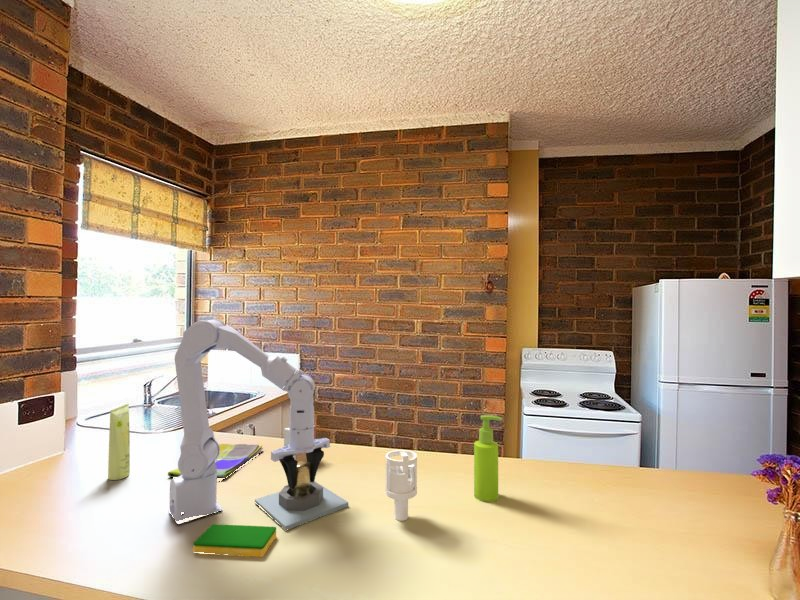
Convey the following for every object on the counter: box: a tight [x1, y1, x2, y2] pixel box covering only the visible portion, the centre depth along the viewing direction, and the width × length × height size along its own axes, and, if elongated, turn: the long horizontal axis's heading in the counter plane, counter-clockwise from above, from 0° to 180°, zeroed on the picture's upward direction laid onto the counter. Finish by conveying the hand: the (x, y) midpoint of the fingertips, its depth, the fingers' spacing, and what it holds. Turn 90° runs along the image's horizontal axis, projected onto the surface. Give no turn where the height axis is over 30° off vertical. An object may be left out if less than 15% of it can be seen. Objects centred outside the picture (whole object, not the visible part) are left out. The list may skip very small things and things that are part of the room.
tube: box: [107, 402, 131, 481], centre depth 113 cm, size 6×5×20 cm
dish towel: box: [167, 443, 264, 479], centre depth 123 cm, size 18×24×3 cm
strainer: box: [385, 449, 418, 522], centre depth 92 cm, size 7×7×15 cm
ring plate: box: [254, 480, 349, 531], centre depth 97 cm, size 16×16×4 cm
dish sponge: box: [193, 523, 277, 558], centre depth 81 cm, size 7×14×2 cm, turn 86°
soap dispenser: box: [473, 414, 503, 503], centre depth 102 cm, size 6×7×20 cm
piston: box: [291, 461, 311, 497], centre depth 98 cm, size 4×4×7 cm
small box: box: [283, 425, 317, 462], centre depth 125 cm, size 8×6×10 cm
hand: (301, 483), depth 97 cm, fingers closed on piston, 4 cm apart
